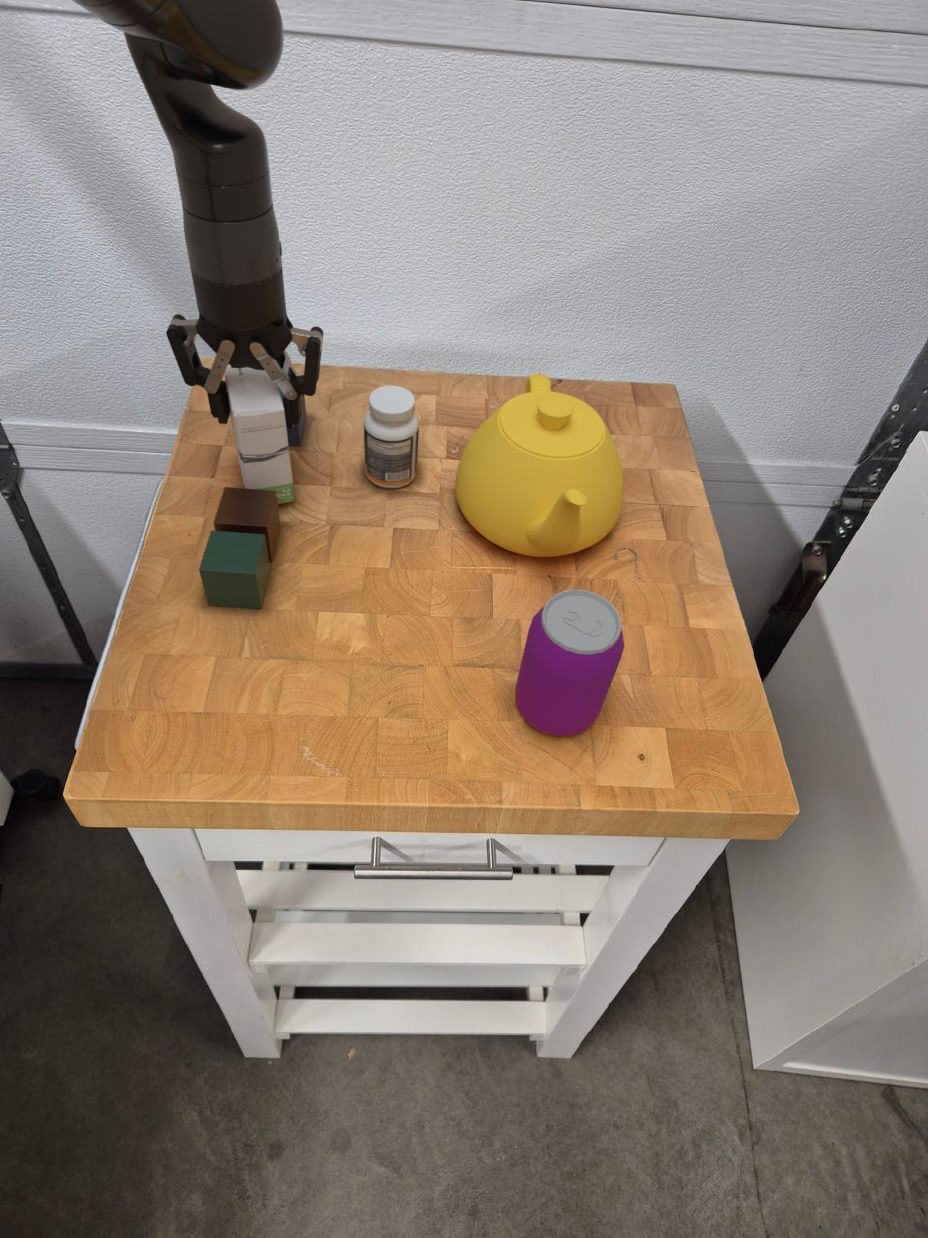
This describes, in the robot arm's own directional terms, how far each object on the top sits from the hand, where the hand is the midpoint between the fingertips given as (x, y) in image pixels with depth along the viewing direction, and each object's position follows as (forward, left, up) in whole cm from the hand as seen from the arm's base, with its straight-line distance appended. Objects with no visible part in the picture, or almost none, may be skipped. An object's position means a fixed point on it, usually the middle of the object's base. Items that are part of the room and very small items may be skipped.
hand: (258, 421), depth 81 cm
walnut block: (0, -9, -8) cm, 12 cm away
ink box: (0, 0, -8) cm, 8 cm away
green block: (0, -15, -8) cm, 17 cm away
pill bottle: (+13, +3, -8) cm, 16 cm away
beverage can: (+30, -26, -8) cm, 41 cm away
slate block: (0, +9, -8) cm, 12 cm away
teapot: (+29, -2, -8) cm, 30 cm away
